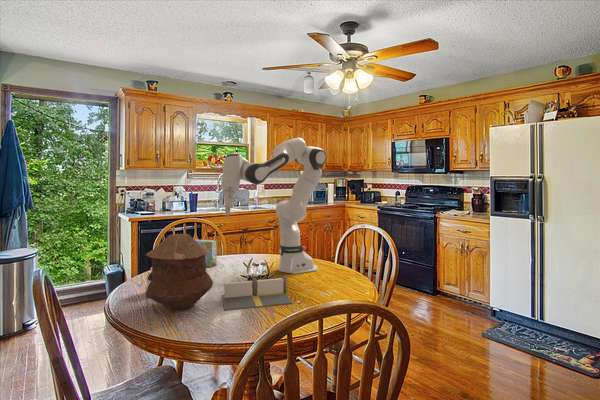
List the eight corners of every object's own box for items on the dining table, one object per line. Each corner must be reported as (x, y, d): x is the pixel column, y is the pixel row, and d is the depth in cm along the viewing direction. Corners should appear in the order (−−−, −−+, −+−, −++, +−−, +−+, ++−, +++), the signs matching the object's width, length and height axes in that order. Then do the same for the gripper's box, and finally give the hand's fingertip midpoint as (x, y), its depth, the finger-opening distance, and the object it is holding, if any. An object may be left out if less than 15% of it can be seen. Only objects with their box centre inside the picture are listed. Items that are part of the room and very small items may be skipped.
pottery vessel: (156, 325, 127) (153, 243, 124) (140, 304, 147) (137, 233, 145) (223, 309, 142) (222, 235, 140) (200, 292, 163) (199, 227, 160)
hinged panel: (252, 294, 157) (252, 280, 157) (252, 295, 156) (252, 281, 155) (223, 296, 154) (223, 282, 153) (224, 298, 152) (223, 284, 152)
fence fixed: (285, 291, 162) (285, 276, 161) (286, 293, 160) (286, 277, 159) (252, 294, 157) (252, 278, 157) (253, 296, 156) (252, 279, 155)
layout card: (282, 289, 165) (282, 288, 165) (292, 303, 148) (292, 302, 148) (222, 295, 158) (222, 294, 158) (224, 310, 140) (224, 309, 140)
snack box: (217, 265, 210) (216, 240, 209) (212, 267, 205) (211, 242, 204) (187, 262, 217) (186, 238, 216) (181, 264, 212) (180, 239, 211)
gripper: (237, 189, 164) (234, 218, 166) (235, 185, 184) (232, 211, 185) (223, 188, 163) (220, 217, 164) (223, 183, 182) (220, 209, 184)
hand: (227, 213), depth 175 cm, fingers open, 8 cm apart
